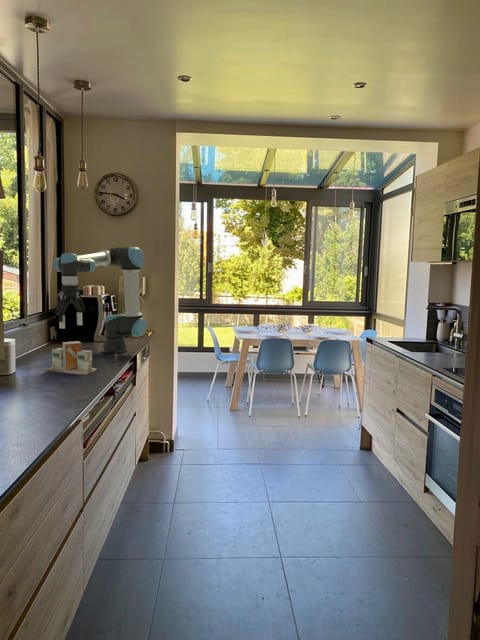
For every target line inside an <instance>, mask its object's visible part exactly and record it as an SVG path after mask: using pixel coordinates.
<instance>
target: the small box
mask: <svg viewBox="0 0 480 640" xmlns="http://www.w3.org/2000/svg"><path fill="white" fill-rule="evenodd" d="M62 348H63V367H64V368H65V369H73V368H78V367H77V352H78V351H82V350H83V349H82V342H80V341H79V340H76V341H67V342H66V341H63V342H62Z"/></svg>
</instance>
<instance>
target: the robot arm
mask: <svg viewBox="0 0 480 640" xmlns="http://www.w3.org/2000/svg"><path fill="white" fill-rule="evenodd" d="M145 262H146V259H145V254H144V252H143V250H142V249H141V248H139V247H137V246H115V247H111V248H106V249H101V250H99V251H98V252H93V253H87V254H79V255H77V254H76V253H62V254H61V256H60V257H56V258H54V260H53V261H52V268H53V269H54V271H56V272H57V273H58V272H59V273H61V284H62V285H61V291H62V293H63V294H59V295H58V301H57V306H56V307H55V311H54V314H55V315H57V316H58V325H59V329H66V317H65V316H66V315H65V312H66V310H67V308H68V307H69V305H70V304H72V305H73V307H74V308H75V309H76V311H77V312H76V325H77V326H83V318H84V317H83V313H85V312H86V308H85V305H84V302H83V299H82V294H81V293H79V285H78V284H79V276H78V274H79V273H85V274H86V273H87V274H88V273H92V272H93V273H94V271H95V269H96V267H99V266H103V267H111V266H113V267H120V270H121V272H123V283H124V284H123V287H124V306H125V307H124V310H125V312H124V313H120V314H119V313H118V314H111V315H110V314H109V315H106V316H105V319H104V320H105V322H104V326H105V327H104V330H105V340H104V344H103V347H102V352H103V353H106V354H122V352H123V353H126V352H128V350H129V349H128V347H129V346H128V345H127V342H126V336H127V337H133V338H134V337H142V336H143V335H145V333H146V330H147V327H148V322H147V319H146V318H144V317H143V313H142V312H141V308H140V305H141V304H140V303H141V302H140V284H139V283H140V282H139V281H140V280H139V278H140V277H139V275H140V274H139V272H140V271H141V270H142V269H141V268H142V267H143V266H144V265H145Z"/></svg>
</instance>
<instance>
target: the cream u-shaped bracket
mask: <svg viewBox="0 0 480 640" xmlns="http://www.w3.org/2000/svg"><path fill="white" fill-rule="evenodd" d="M51 355H52V360H51V361H52V362H51V363H52V366H51V367H50V368H47V371H48V372H55V373H65V374H74V375H88V374H90V373H94V372H96V371H98V368H97V367H96V368H95V367H93V351H92V350H89V349H87V350H86V349H82V351H78V352H77V367H78V368H73V369H65V368H64V367H63V347H62V348H61V347H58V348H57V347H56V348H52V349H51Z"/></svg>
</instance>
